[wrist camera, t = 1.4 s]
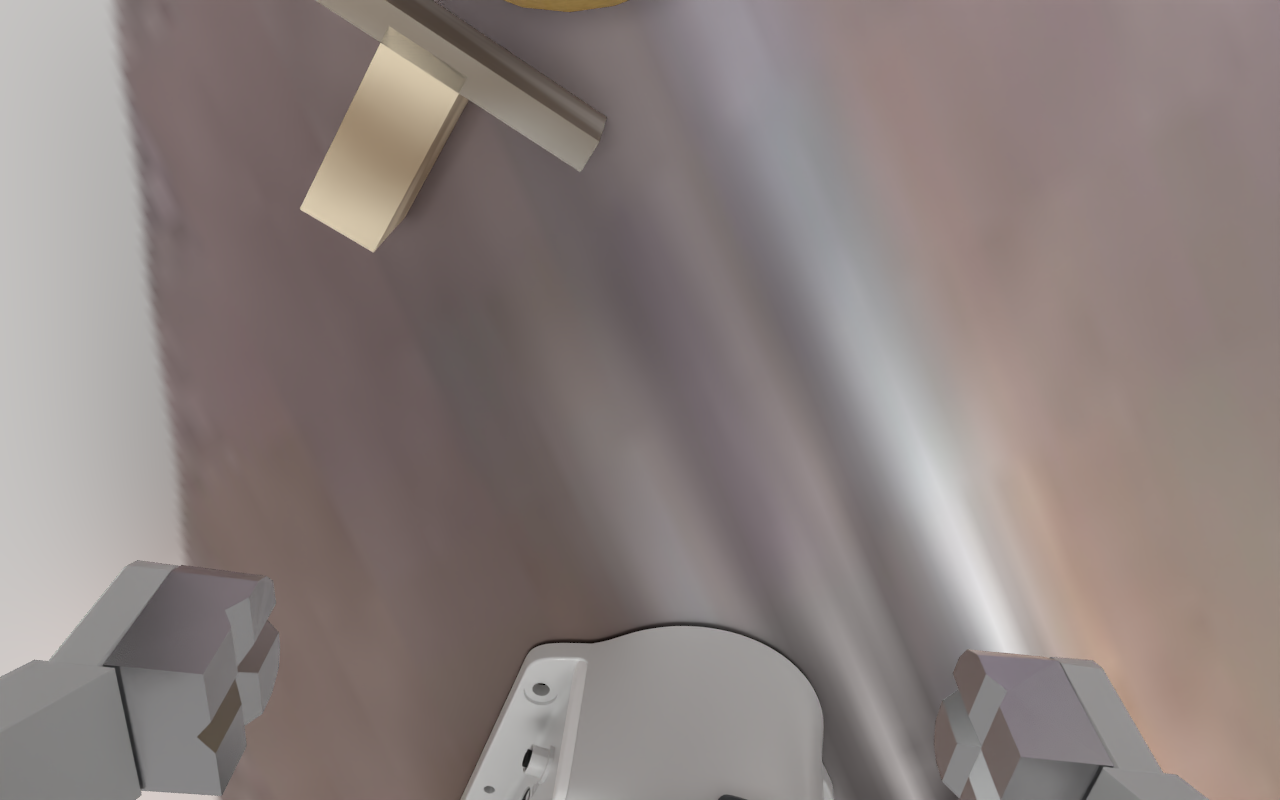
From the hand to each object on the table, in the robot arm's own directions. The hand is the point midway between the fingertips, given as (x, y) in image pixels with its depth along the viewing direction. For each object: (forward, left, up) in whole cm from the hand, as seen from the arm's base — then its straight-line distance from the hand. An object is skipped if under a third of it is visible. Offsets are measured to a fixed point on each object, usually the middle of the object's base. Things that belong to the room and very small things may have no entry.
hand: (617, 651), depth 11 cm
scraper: (-4, +8, -27) cm, 28 cm away
